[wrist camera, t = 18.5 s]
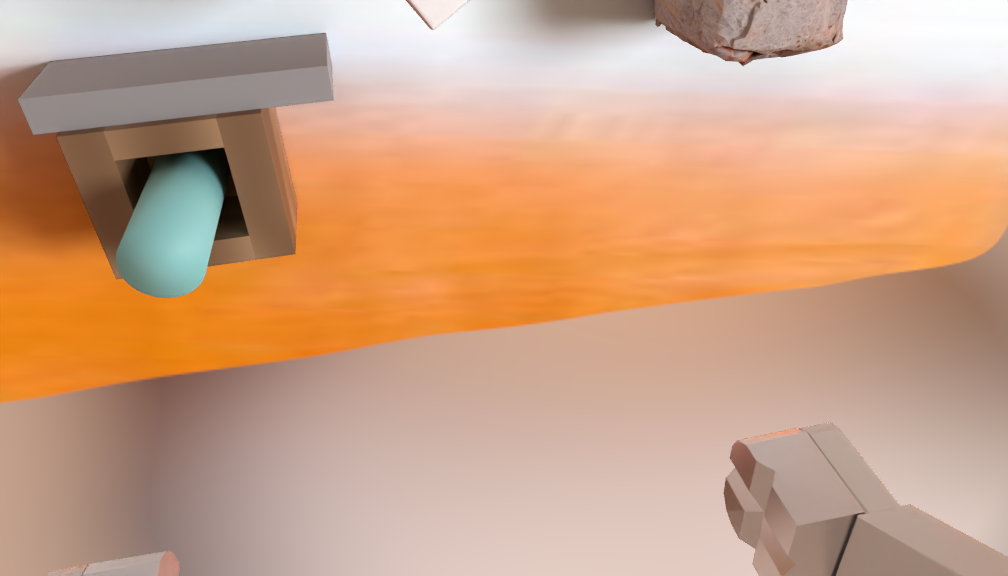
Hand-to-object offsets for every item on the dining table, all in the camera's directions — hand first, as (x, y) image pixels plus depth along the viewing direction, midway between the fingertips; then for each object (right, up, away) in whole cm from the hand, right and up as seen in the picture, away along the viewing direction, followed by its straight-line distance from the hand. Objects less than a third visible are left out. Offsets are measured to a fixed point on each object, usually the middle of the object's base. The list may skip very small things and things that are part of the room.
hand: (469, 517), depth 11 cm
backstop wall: (-14, +14, +23) cm, 30 cm away
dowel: (-14, +9, +25) cm, 30 cm away
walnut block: (-14, +10, +26) cm, 31 cm away
